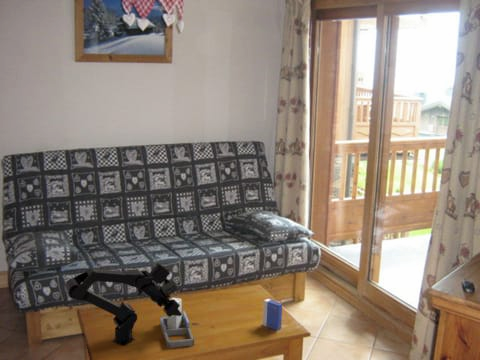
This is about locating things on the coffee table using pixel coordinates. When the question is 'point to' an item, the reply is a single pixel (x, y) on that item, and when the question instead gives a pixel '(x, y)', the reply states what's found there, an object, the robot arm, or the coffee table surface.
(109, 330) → the coffee table surface
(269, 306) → the walkman
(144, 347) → the coffee table surface
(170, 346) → the frame
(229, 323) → the coffee table surface
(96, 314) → the coffee table surface
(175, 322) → the skincare box
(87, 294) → the robot arm
